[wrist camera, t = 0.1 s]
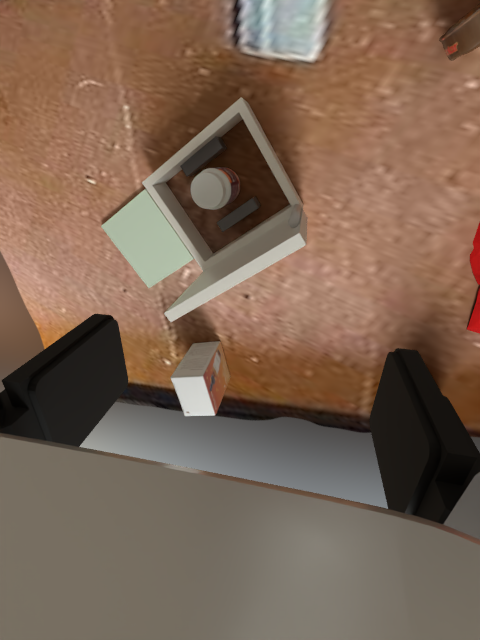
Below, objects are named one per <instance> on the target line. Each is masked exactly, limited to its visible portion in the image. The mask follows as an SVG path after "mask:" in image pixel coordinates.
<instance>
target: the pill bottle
mask: <svg viewBox="0 0 480 640" xmlns="http://www.w3.org/2000/svg"><path fill="white" fill-rule="evenodd" d="M239 192H240V181H239V178H238V176H237V174H236V173H235V172H234V171H233V170H231V169H229V168H226V167H218V168H207V169H205V170H203V171H202V172H200V173H199V174H198V175H197V176H196V177H195V178H194V179H193V181H192V183H191V196H192V198H193V200H194V202H195V203H196V204H197V205H198V206H199V207H201V208H204V209H211V210H216V209H220V208H222V207H224V206H225V205H227V204H229V203H231V202H233V201H234V200H235V199H236V198H237V196H238V194H239Z"/></svg>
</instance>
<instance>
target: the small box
mask: <svg viewBox="0 0 480 640" xmlns="http://www.w3.org/2000/svg"><path fill="white" fill-rule="evenodd" d="M229 379H230V373H229V370H228V367H227V363H226V359H225V356H224V352H223V348H222V344H221V341H216V342H204V343H193V344H192V346H191V347H190V349H189V350H188V352H187V353H186V355H185V356H184V358H183V359H182V361H181V362H180V364H179V365H178V367H177V368H176V370H175V371H174V373H173V375H172V376H171V380H172V382H173V384H174V387H175V390H176V392H177V395H178V398H179V400H180V403H181V406H182V409H183V412H184V415H185V416H211V415H216V413H217V410H218V408H219V405H220V403H221V400H222V397H223V395H224V392H225V390H226V387H227V384H228V382H229Z"/></svg>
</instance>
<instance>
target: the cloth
mask: <svg viewBox="0 0 480 640" xmlns="http://www.w3.org/2000/svg"><path fill="white" fill-rule="evenodd" d="M473 246H474V249H473V251H472V253H471V254H470V263H471V267H472V271H473V274H474V276H475V279H476V281H477V283H478V284H479V285H480V223H479V226H478V229H477V232H476V235H475V238H474V241H473ZM467 330H470V331H473V332H477V333H480V288H479V290H478V295H477V300H476V304H475V307H474V310H473V313H472V316H471V319H470V322H469V325H468V327H467Z"/></svg>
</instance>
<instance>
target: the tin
mask: <svg viewBox="0 0 480 640" xmlns="http://www.w3.org/2000/svg"><path fill="white" fill-rule="evenodd" d="M439 41H441V42H442V44H443V47H444V49H445V52H446V54H447V56H448V58H449V59H450V60H451V61H453V60H455V59H456V58H457V57H459V56H461V55H464V54H467V53H469V52H471V51H473V50H474V49H476V48H478V47H479V46H480V4H479V5H478V6H476V7H475V8H474V9H473V10H472V11H470V12H469V13H468V14H467V15H466V16H464V17H463V18H462V19H461V20H460V21H458V22H457V23H456V24H455V25H454V26H453V27H451V28H450V29H449V30H448V31H447V32H446V33H445V34H444V35H443V36H442V37H441V38H440V39H439Z"/></svg>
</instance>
